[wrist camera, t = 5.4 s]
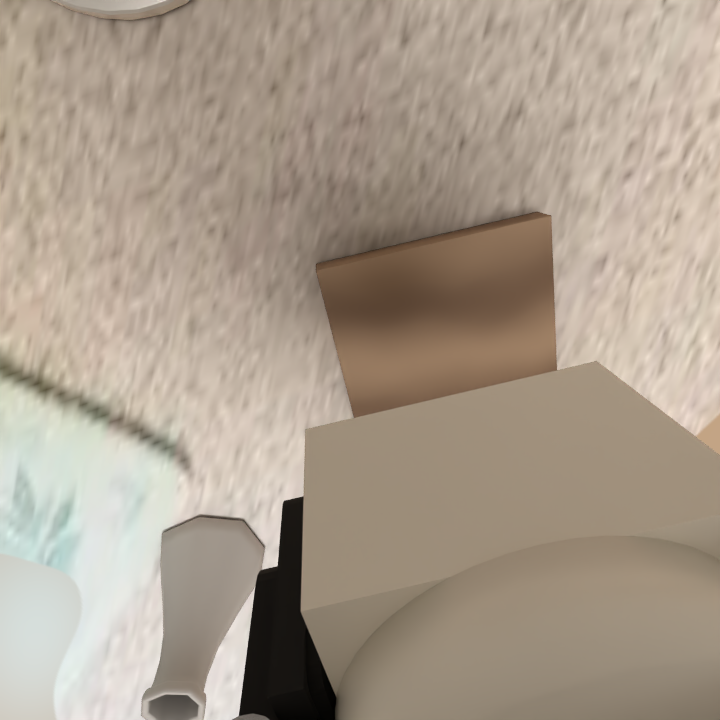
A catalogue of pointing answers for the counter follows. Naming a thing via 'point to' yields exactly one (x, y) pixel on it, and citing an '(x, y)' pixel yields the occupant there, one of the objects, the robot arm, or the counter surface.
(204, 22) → the counter surface
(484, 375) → the hub board
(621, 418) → the knob
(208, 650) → the flask
